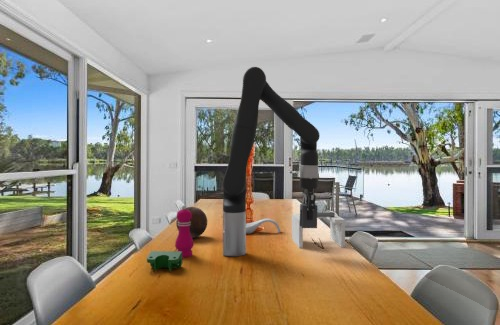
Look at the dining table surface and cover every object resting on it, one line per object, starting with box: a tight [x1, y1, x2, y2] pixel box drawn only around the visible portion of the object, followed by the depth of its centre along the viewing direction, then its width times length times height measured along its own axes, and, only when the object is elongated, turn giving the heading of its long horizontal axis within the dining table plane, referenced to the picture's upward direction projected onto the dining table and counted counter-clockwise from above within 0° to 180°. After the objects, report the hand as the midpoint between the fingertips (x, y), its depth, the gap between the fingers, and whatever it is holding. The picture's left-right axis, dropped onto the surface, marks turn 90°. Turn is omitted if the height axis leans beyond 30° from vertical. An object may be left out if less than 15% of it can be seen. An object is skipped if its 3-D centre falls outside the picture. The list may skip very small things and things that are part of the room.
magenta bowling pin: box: [174, 205, 195, 258], centre depth 155 cm, size 7×7×20 cm
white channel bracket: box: [291, 212, 346, 249], centre depth 177 cm, size 20×18×14 cm
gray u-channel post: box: [299, 203, 318, 229], centre depth 157 cm, size 6×5×9 cm
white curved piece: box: [246, 218, 281, 235], centre depth 202 cm, size 24×12×7 cm, turn 90°
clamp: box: [146, 250, 183, 272], centre depth 136 cm, size 12×6×9 cm, turn 80°
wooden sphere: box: [175, 206, 208, 239], centre depth 189 cm, size 15×15×15 cm
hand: (308, 218), depth 157 cm, fingers closed on gray u-channel post, 5 cm apart
